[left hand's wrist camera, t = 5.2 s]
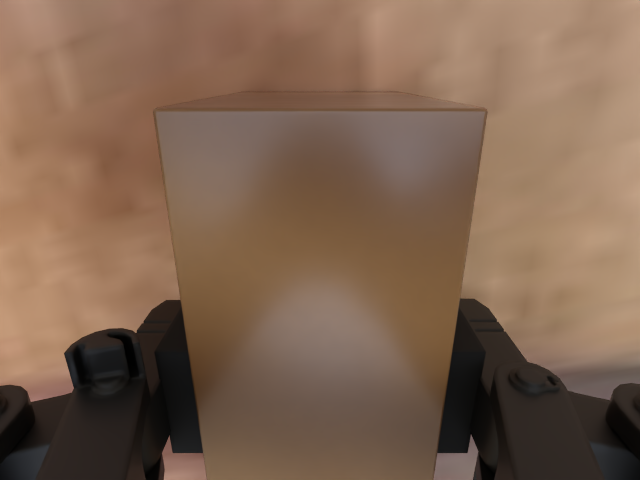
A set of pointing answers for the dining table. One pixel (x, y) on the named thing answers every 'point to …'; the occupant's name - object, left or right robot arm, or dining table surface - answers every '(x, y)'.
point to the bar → (320, 275)
